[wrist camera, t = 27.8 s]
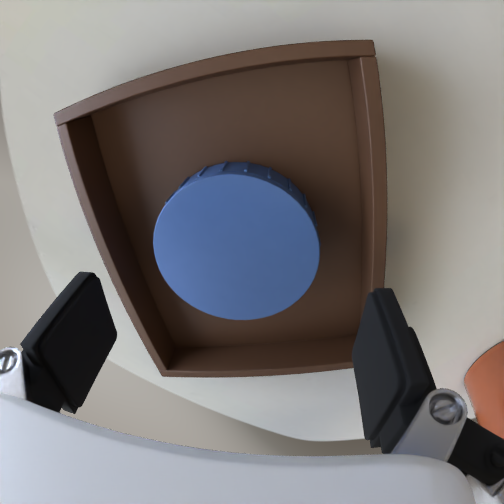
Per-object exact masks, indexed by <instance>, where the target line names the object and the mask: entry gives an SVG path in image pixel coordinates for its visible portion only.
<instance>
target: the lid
mask: <svg viewBox="0 0 504 504" xmlns="http://www.w3.org/2000/svg"><path fill="white" fill-rule="evenodd" d="M178 188H179V189H178V190H177V191H174V193H173V194H172V195H171V196H170V197H169V198H168V199H167V201H166V202H165V204H166V205H165V206H164V207H163V209H162V211H161V213H160V215H159V217H158V219H157V222H156V225H155V230H154V240H153V245H154V254H155V258H156V262H157V265H158V267H159V270H160V272H161V274H162V275H163V277H164V279H165V280H166V282H167V283H168V285H169V286H170V287H171V288H172V289H173V291H174V292H175V293H176V294H177V295H178V296H180V297H181V298H182V299H183V300H184V301H186V302H187V303H189V304H190V305H192V306H193V307H195V308H197V309H199V310H201V311H203V312H205V313H208V314H211V315H214V316H217V317H221V318H226V319H234V320H251V319H259V318H264V317H267V316H271V315H274V314H276V313H278V312H281V311H283V310H284V309H286V308H288V307H290V306H291V305H292V304H294V303H295V302H296V301H298V300H299V299H300V298H301V297H302V296H303V295H304V293H305V292H306V291H307V289H308V288H309V287H310V285H311V283H312V282H313V280H314V278H315V275H316V272H317V270H318V265H319V260H320V246H321V242H320V238H319V233H318V230H317V229H316V226H317V221H316V217H315V213H314V211H313V212H312V210H311V208H310V206H309V203H308V202H307V200H306V195H305V194H302V193H301V192H300V190H299V189H298V188H297V187H296V186H295V185H294V184H293V183H292V182H291V179H290V178H288V179H287V178H285V177H284V176H283V175H281V174H280V173H278V172H276V171H274V170H272V168H271V167H269V168H267V167H264V166H261V165H257V164H253V163H250V161H247V163H246V162H228V161H225V162H224V163H222V164H216V165H213V166H211V167H208V168H207V166H205V167H204V168H203V169H202V170H201V171H199V172H197V173H196V174H194V175H193V176H192V177H190V178H189V177H187V178H186V179H185V180H184V182H183V183H182V184H181V185H180V186H179V187H178Z"/></svg>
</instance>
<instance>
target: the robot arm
mask: <svg viewBox="0 0 504 504" xmlns="http://www.w3.org/2000/svg"><path fill="white" fill-rule="evenodd" d="M116 338H117V331H116V328H115V325H114V322H113V320H112V317H111V314H110V311H109V308H108V304H107V301H106V298H105V295H104V292H103V288H102V285H101V282H100V279H99V278H98V277H96V275H95V273H91V272H79V273H78V274H77V275H76V276H75V277H74V278H73V279H72V281H71V282H70V283H69V284H68V285H67V286H66V288H65V289H64V290H63V291H62V292H61V293H60V295H59V296H58V297H57V298H56V299H55V301H54V302H53V303H52V304H51V305H50V307H49V308H48V309H47V310H46V312H45V313H44V314H43V315H42V316H41V318H40V319H39V320H38V322H37V323H36V324H35V325H34V327H33V328H32V329H31V331H30V332H29V333H28V334H27V336H26V337H25V338H24V340H23V341H22V342H21V346H22V348H23V351H22V352H20V351H19V349H17V348H15V347H7V348H4V349H2V350H0V504H504V439H503V438H501V437H499V436H497V435H496V434H494V433H492V432H491V431H489V430H487V429H486V428H484V427H482V426H480V425H479V424H477V423H475V422H474V421H472V420H470V419H469V418H467V413H468V411H467V405H466V403H465V401H464V399H463V398H462V397H461V396H460V395H459V394H458V393H456V392H455V391H453V390H450V389H444V388H440V389H436V386H435V383H434V380H433V377H432V374H431V372H430V369H429V366H428V364H427V361H426V358H425V356H424V353H423V351H422V348H421V346H420V343H419V341H418V338H417V336H416V333H415V331H414V329H413V328H412V327H408V325H407V322H406V320H405V318H404V315H403V313H402V310H401V308H400V306H399V303H398V301H397V299H396V297H395V294H394V292H393V290H392V289H391V288H375V289H374V290H373V292H369V293H368V295H367V299H366V303H365V307H364V311H363V314H362V318H361V322H360V325H359V329H358V332H357V336H356V339H355V342H354V346H353V349H352V361H353V367H354V372H355V378H356V384H357V390H358V396H359V402H360V409H361V415H362V422H363V429H364V436H365V439H366V440H370V445H371V448H374V447H381V450H382V453H383V454H374V455H349V456H274V455H256V454H244V453H232V452H224V451H216V450H208V449H201V448H194V447H188V446H182V445H176V444H171V443H166V442H161V441H156V440H151V439H146V438H142V437H138V436H134V435H129V434H126V433H122V432H118V431H114V430H111V429H107V428H104V427H100V426H97V425H94V424H90V423H87V422H84V421H81V420H78V419H75V418H72V417H69V416H66V415H63V414H61V413H60V410H61V408H63V410H65V411H68V412H70V413H73V414H75V413H76V411H77V409H78V407H81V406H82V404H83V403H84V401H85V399H86V397H87V395H88V392H89V391H90V389H91V387H92V385H93V383H94V381H95V379H96V377H97V375H98V373H99V371H100V369H101V367H102V365H103V364H104V362H105V360H106V358H107V356H108V354H109V352H110V350H111V349H112V347H113V345H114V343H115V341H116Z"/></svg>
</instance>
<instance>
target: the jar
mask: <svg viewBox="0 0 504 504" xmlns="http://www.w3.org/2000/svg"><path fill="white" fill-rule="evenodd" d="M464 386H465V389H466V391H467V394H468V397H469V399H470V402H471V405H472V407H473V410H474V413H475V416H476V419H477V422H478V424H479V425H480V426H482V427H484V428H486V429H487V430H489V431H491V432H492V433H494V434H496V435H497V436H499V437H501V438H503V439H504V341H503V342H501V343H499V344H497V345H496V346H494V347H492V348H491V349H490V350H488V351H487V352H486V353H484V354H483V355H482V356H481V357H480V358H479V359H478V360H477V361H476V362H475V363H474V364H473V365H472V366H471V367H470V369H469V370H468V372H467V373H466V375H465V378H464Z"/></svg>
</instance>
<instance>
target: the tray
mask: <svg viewBox="0 0 504 504" xmlns="http://www.w3.org/2000/svg"><path fill="white" fill-rule="evenodd" d="M375 55H376V53H375V47H374V42H373V40H339V41H321V42H308V43H297V44H288V45H280V46H272V47H265V48H259V49H253V50H247V51H241V52H236V53H231V54H226V55H221V56H217V57H212V58H208V59H204V60H199V61H195V62H191V63H188V64H184V65H180V66H177V67H173V68H170V69H166V70H163V71H160V72H156V73H153V74H150V75H147V76H144V77H141V78H138V79H135V80H132V81H129V82H127V83H124V84H121V85H118V86H116V87H113V88H111V89H108V90H106V91H103V92H101V93H98V94H96V95H93V96H91V97H89V98H86V99H84V100H82V101H79V102H77V103H75V104H73V105H71V106H69V107H66V108H64V109H62V110H60V111H58V112H56V113H54V119H55V123H56V126H58V127H57V131H58V134H59V138H60V142H61V145H62V149H63V152H64V156H65V159H66V162H67V165H68V169H69V172H70V175H71V178H72V181H73V184H74V187H75V190H76V193H77V196H78V199H79V201H80V204H81V207H82V210H83V212H84V215H85V218H86V220H87V223H88V226H89V228H90V231H91V233H92V236H93V238H94V241H95V243H96V245H97V248H98V250H99V253H100V255H101V257H102V260H103V262H104V264H105V267H106V269H107V271H108V273H109V275H110V278H111V280H112V282H113V284H114V286H115V288H116V291H117V293H118V295H119V297H120V299H121V301H122V303H123V305H124V307H125V309H126V311H127V313H128V315H129V317H130V319H131V321H132V323H133V325H134V327H135V329H136V330H137V332H138V334H139V336H140V338H141V340H142V342H143V343H144V345H145V347H146V349H147V351H148V353H149V354H150V356H151V358H152V360H153V361H154V363H155V365H156V366H157V368H158V370H159V372H160V373H161V375H162V376H164V377H253V376H273V375H288V374H301V373H312V372H322V371H332V370H340V369H348V368H354V367H353V361H352V349H353V346H354V342H355V339H356V336H357V332H358V329H359V325H360V322H361V318H362V314H363V311H364V307H365V303H366V299H367V295H368V293H369V292H373V290H374V289H375V288H384V279H385V264H386V243H387V164H386V143H385V129H384V117H383V106H382V96H381V88H380V80H379V72H378V65H377V59H376V57H375ZM225 161H228V162H246V163H247V161H250V163H253V164H257V165H261V166H264V167H267V168H269V167H271V168H272V170H274V171H276V172H278V173H280V174H281V175H283V176H284V177H285V178H287V179H288V178H290V179H291V182H292V183H293V184H294V185H295V186H296V187H297V188H298V189H299V190H300V192H301V193H302V194H305V195H306V200H307V202H308V203H309V206H310V208H311V210H312V212H313V211H314V213H315V217H316V221H317V226H316V229H317V230H318V233H319V238H320V242H321V246H320V260H319V265H318V270H317V272H316V275H315V278H314V280H313V282H312V283H311V285H310V287H309V288H308V289H307V291H306V292H305V293H304V295H303V296H302V297H301V298H300V299H299V300H298V301H296V302H295V303H294V304H292V305H291V306H290V307H288V308H286V309H284V310H283V311H281V312H278V313H276V314H274V315H271V316H267V317H264V318H259V319H251V320H234V319H226V318H221V317H217V316H214V315H211V314H208V313H205V312H203V311H201V310H199V309H197V308H195V307H193V306H192V305H190V304H189V303H187V302H186V301H184V300H183V299H182V298H181V297H180V296H178V295H177V294H176V293H175V292H174V291H173V289H172V288H171V287H170V286H169V285H168V283H167V282H166V280H165V279H164V277H163V275H162V274H161V272H160V270H159V267H158V265H157V262H156V258H155V254H154V245H153V240H154V230H155V225H156V222H157V219H158V217H159V215H160V213H161V211H162V209H163V207H164V206H165V205H166V204H165V202H166V201H167V199H168V198H169V197H170V196H171V195H172V194H173V193H174V191H177V190H178V189H179V188H178V187H179V186H180V185H181V184H182V183H183V182H184V180H185V179H186V178H187V177H189V178H190V177H192V176H193V175H194V174H196V173H197V172H199V171H201V170H202V169H203V168H204V167H205V166H207V168H208V167H211V166H213V165H216V164H222V163H224V162H225Z"/></svg>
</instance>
